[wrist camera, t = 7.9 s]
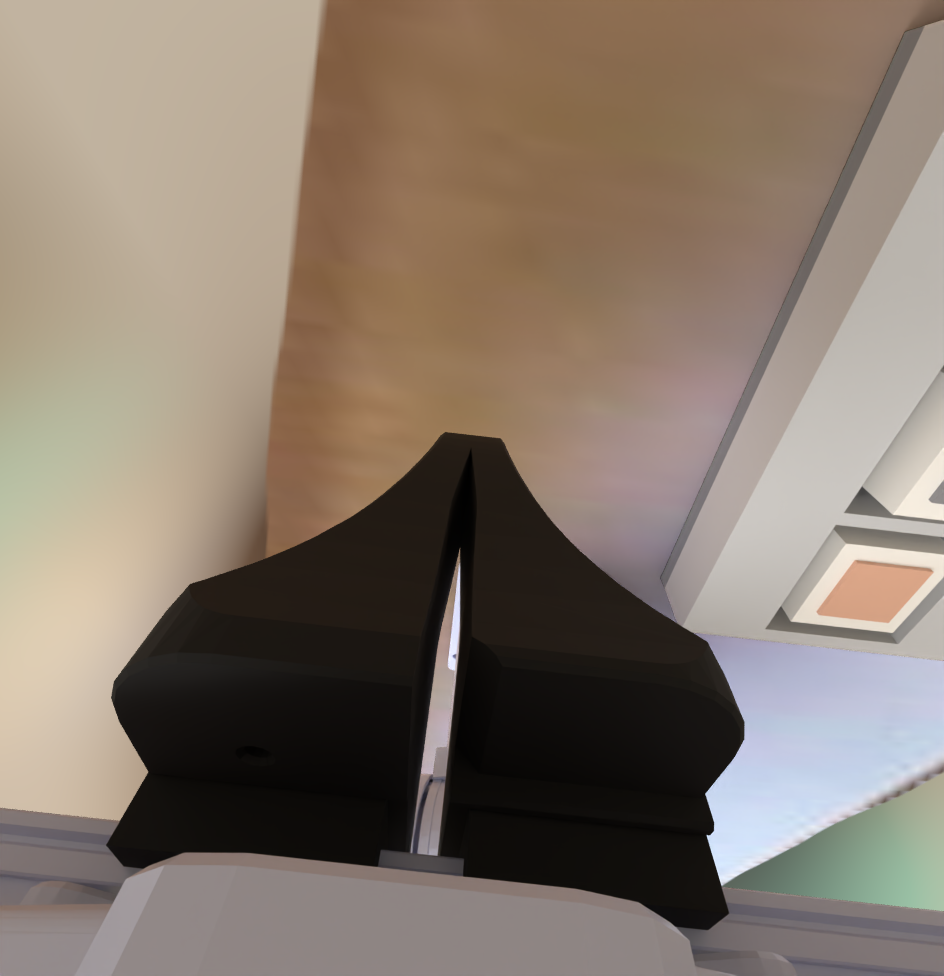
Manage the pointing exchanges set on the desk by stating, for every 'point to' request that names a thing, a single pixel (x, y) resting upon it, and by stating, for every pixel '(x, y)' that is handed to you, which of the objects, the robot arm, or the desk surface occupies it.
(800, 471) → the keypad base
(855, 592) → the key terracotta
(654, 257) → the desk surface
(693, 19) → the desk surface
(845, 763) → the desk surface
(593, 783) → the robot arm
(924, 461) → the key charcoal
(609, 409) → the desk surface
